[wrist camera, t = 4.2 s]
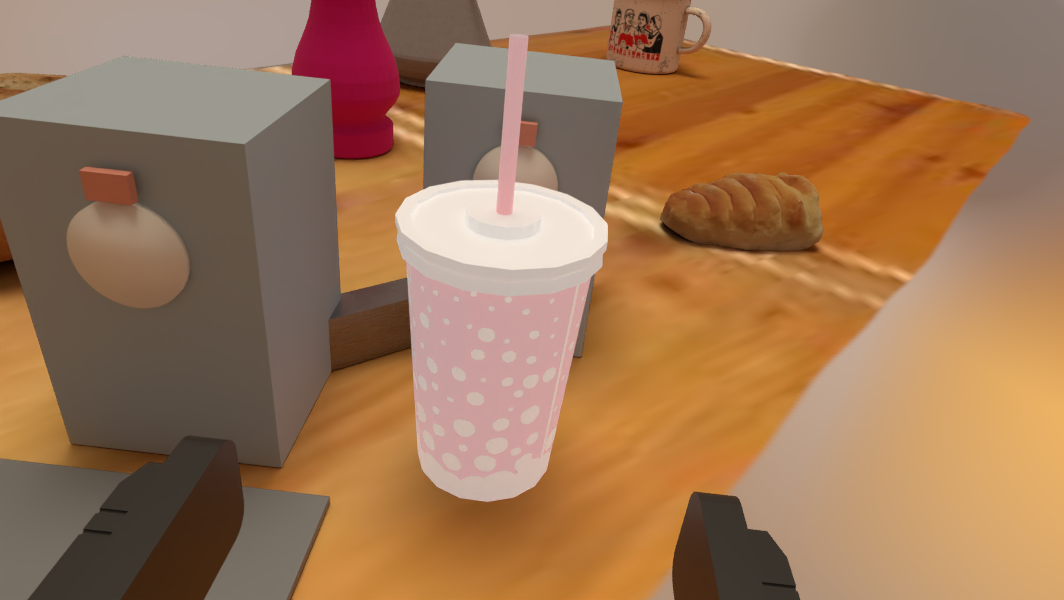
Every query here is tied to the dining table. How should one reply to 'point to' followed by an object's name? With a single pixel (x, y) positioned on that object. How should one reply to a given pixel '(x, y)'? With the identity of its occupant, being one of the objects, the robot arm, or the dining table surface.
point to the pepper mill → (352, 73)
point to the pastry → (748, 212)
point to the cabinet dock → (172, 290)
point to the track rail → (370, 324)
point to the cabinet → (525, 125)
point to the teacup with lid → (652, 34)
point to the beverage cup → (494, 315)
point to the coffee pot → (429, 33)
